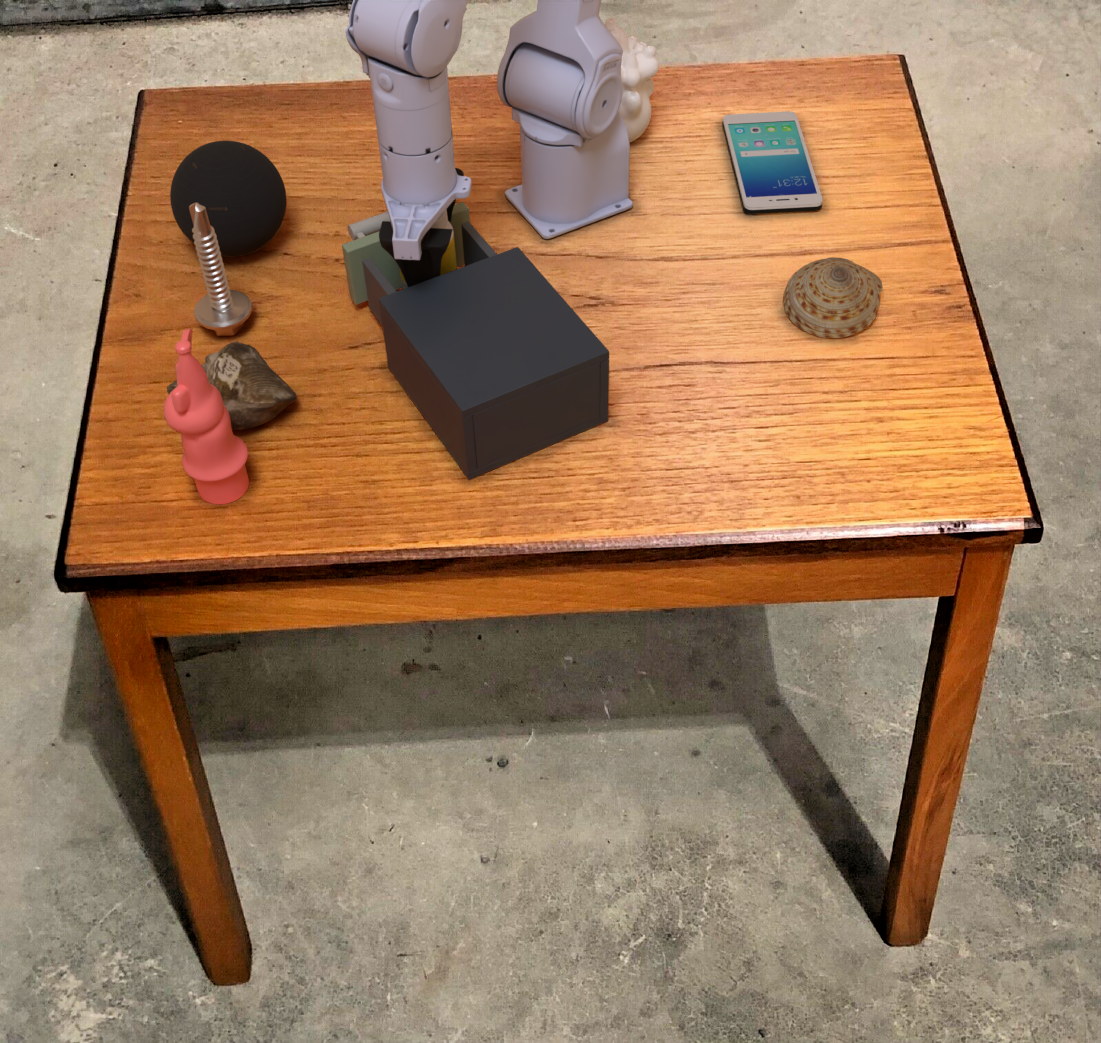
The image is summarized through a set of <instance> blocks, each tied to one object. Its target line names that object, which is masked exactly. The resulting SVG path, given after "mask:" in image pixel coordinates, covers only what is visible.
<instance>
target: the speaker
mask: <svg viewBox="0 0 1101 1043" xmlns="http://www.w3.org/2000/svg"><path fill="white" fill-rule="evenodd" d="M169 198H170V199H169V200H170V207H171V212H172V215H173V218H174V220H175V222H176V225H177V226H178V228H179V230H180V232H182V234H183V235H184V236H185V237H186V238H187V239H188V240H189V241H190V242H191V243H192V244H194V241H195V240H194V239H193V234H194V233H193V232H192V229H193V227H194V225H193V221H192V218H191V214H190V210H189V206H190V205H191V204H193V203H197V202H198V203H199V204H200V205H202V206H204V207H205V208H206V212H207V216H208V220H209V223H210V226H212V227H213V228H214V232H215V234H216V236H217V238H216V239H217V240H218V245H219V248H220V249H219V251H220V252H221V257H227V258H235V257H243V256H247V255H250V254H253V253H255V252H258V251H259V250H261V249H262V248H264V247H265V246H266V245H268V244H269V243H270V242H271V241H272V240H273V239H274V238H275V237H276V235H277V234H278V232H279V230H280V229H281V227H282V224H283V222H284V219H285V216H286V211H287V191H286V187H285V183H284V180H283V178H282V175H281V174H280V172H279V169H278V168H277V167H276V166H275V164H274V163H273V162H272V161H271V160H270V159H269V158H268V156H267V155H266V154H264V153H263V152H261V151H260V150H258V149H257V148H255V147H253V146H252V145H250V144H247V143H244V142H240V141H236V140H215V141H212V142H208V143H205V144H203V145H200V146H198V147H197V148H195V149H194V150H192V151H191V152H189V154H187V155H186V156H185V157H184V159H182V161H181V162H180V164H178V167H177V168H176V170H175V172H174V175H173V177H172V180H171V185H170V193H169Z"/></svg>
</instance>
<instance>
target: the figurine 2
mask: <svg viewBox="0 0 1101 1043" xmlns="http://www.w3.org/2000/svg"><path fill="white" fill-rule="evenodd" d="M604 24H605V26H606V27H607V28H608V30H609V31H610V32H611V34H612V35H613V36H614V38H615V39H616V40H617V42H618V43H619V44H620V46H621V47H622V49H623V54H622V62H621V79H622V85H623V94H622V101H621V104H620V108H619V110H618V112H619V113H620V115H621V117H622V119H623V121H624V123H625V126H626V129H627V132H628V137H629V143H632V142H633V141H635V140H637V139H639V138H640V137H641V136H642V135H643V134H644V132H646V130H647V128H648V126H649V124H650V122H651V118H652V104H651V100H650V97H651V96H652V94H653V93H654V92H655V83H654V80H653V79H652V78H654V77H655V76H656V75H657V74H658V72H659V70H660V62H659V60H658V58H657V56H656V55H657V48H656V47H655V46H654V45H647V43H645V42H643V41H639V39H638V37H637V36H635V35H628V33H627V32H626V31H625V30H624V29H623V28H622V27H620V26H619V25H618V20H617V19H616V18H614V17H609V18H607V19H606V20H605V22H604Z"/></svg>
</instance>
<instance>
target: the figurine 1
mask: <svg viewBox="0 0 1101 1043" xmlns="http://www.w3.org/2000/svg"><path fill="white" fill-rule="evenodd" d="M193 333H194V332H193V328H185V329H183V331H182V334H181V338H180V340H179V341H177V342H176V343H175V345H174V351H175V353H177V354H178V359H177V362H176V363H175V368H174V369H175V375H176V380H177V387H176V388H175V389H174V390H173V391H172V392H171V393H170V394H168V395H167V397H166V399H165V401H164V404H163V416H164V417H163V418H164V420H165V421H166V423H167V425H168V426H169V428H171V429H172V430H173V431H175V432H178V433H180V439H181V445H182V448H183V453H182V457H181V465H182V468H183V470H184V471H185V474H187V476H189V477H191V478H192V479H193V480H194V483H195V486H196V489H197V492H198V495H199V497H200V498H201V499H202V500H203V501H204V502H207V503H209V504H212V505H227V504H231V503H234V502H235V501H237V500H239V499H240V498H242V497H243V496H244V495H245V494H246V492H247V491H248V489H249V485H250V480H249V475H248V472H247V468H246V462H247V460H248V457H249V451H248V447H247V445H246V443H245V442H244V441H243V440H242V439H241V437H238V435H237V436H236V435H234V432H233V429H232V427H231V420H230V415H229V412H228V410H227V408H226V407H225V406H224V404H223V399H222V396H221V394H220V392H219V391H218V389H217V388H216V387H215V386H213V385H212V384H210V383H209V380H208V377H207V374H206V372H205V370H204V368H203V367H202V365H203V364H202V363H201V362H200V361H199V360H198V359H197V358H196V357H195V356H194V355H193V354H192V344H193V343H192V340H193Z"/></svg>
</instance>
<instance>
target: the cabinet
mask: <svg viewBox="0 0 1101 1043" xmlns="http://www.w3.org/2000/svg"><path fill="white" fill-rule="evenodd" d="M461 267H462V268H461ZM461 267H458V268H457V269H456V270H454V271H451V272H448V273H446V274H443V275H440V276H437V277H435V278H432V279H429V280H427V281H424V282H421V283H419V284H416V285H413V286H411V287H408V288H405V289H402V288H401V289H399V290H400V291H399V290H396V292H394V293H392V294H389V295H386V296H384V297H381V298H379V306H380V313H381V320H382V325H381V327H382V333H383V339H384V347H385V353H386V361H387V368H388V370H389V371H390V372H391V374H392V375H393V377H394V378H395V379H396V381H397V382H398V384H399V385H400V387H401V388H402V389H403V390H404V392H405V394H406V395H407V396H408V398H409V399H410V400H411V402H412V403H413V405H414V406H415V407H416V409H417V410H418V412H419V413H420V415H421V416H422V417H423V419H424V420H425V421H426V423H427V424H428V426H429V427H430V428H431V430H432V432H434V434H435V436H436V437H437V438H438V439H439V441H440V442H441V443H442V445H443V446H444V448H445V449H446V451H447V453H449V455H450V457H451V458H452V459H453V461H454V462H455V463H456V465H457V466H458V468H459V469H460V470H461V472H462V473H463V475H464V476H465V477H466V478H467V480H468V481H470V480H474V479H475V478H477V477H480V476H483V475H484V474H487V473H489V472H491V471H494V470H496V469H498V468H501V467H504V466H506V465H508V464H510V463H513V462H515V461H518V460H520V459H523V458H525V457H527V456H529V455H532V454H535V453H536V452H539V451H542V450H544V449H546V448H548V447H550V446H553V445H556V444H558V443H561V442H562V441H565V440H568V439H569V438H572V437H575V436H576V435H579V434H581V433H583V432H586V431H589V430H591V429H593V428H595V427H597V426H601V425H603V424H605V423H607V422H609V403H610V402H609V401H610V400H609V399H610V397H609V396H610V395H609V394H610V393H609V392H610V391H609V390H610V350H609V349H608V347H606V346H605V345H604V343H603V342H602V341H601V340H600V338H598V337H597V335H596V334H595V333H594V332H593V331H592V329H590V327H589V326H588V325H587V324H586V323H585V321H583V320H582V318H581V317H580V316H579V315H578V314H577V313H576V312H575V310H574V309H573V308H572V307H571V305H570V304H569V303H568V302H567V301H566V300H565V299H564V298H563V297H562V295H561V294H560V293H559V292H558V291H557V290H556V289H555V287H554V286H553V285H552V284H551V283H550V281H548V279H547V278H546V277H545V276H544V275H543V274H542V273H541V271H539V270H538V268H537V267H536V266H535V265H534V263H533V262H532V261H531V260H530V259H529V258H528V257H527V255H525V253H524V252H523V251H522V250H521V249H520V247H518V246H515V247H512V248H511V249H507V250H505V251H502V252H499V253H497V255H494V256H491V257H489V258H486V259H483V260H481V261H478V262H475V263H472V264H470V265H467V266H465V265H463V266H461Z"/></svg>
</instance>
